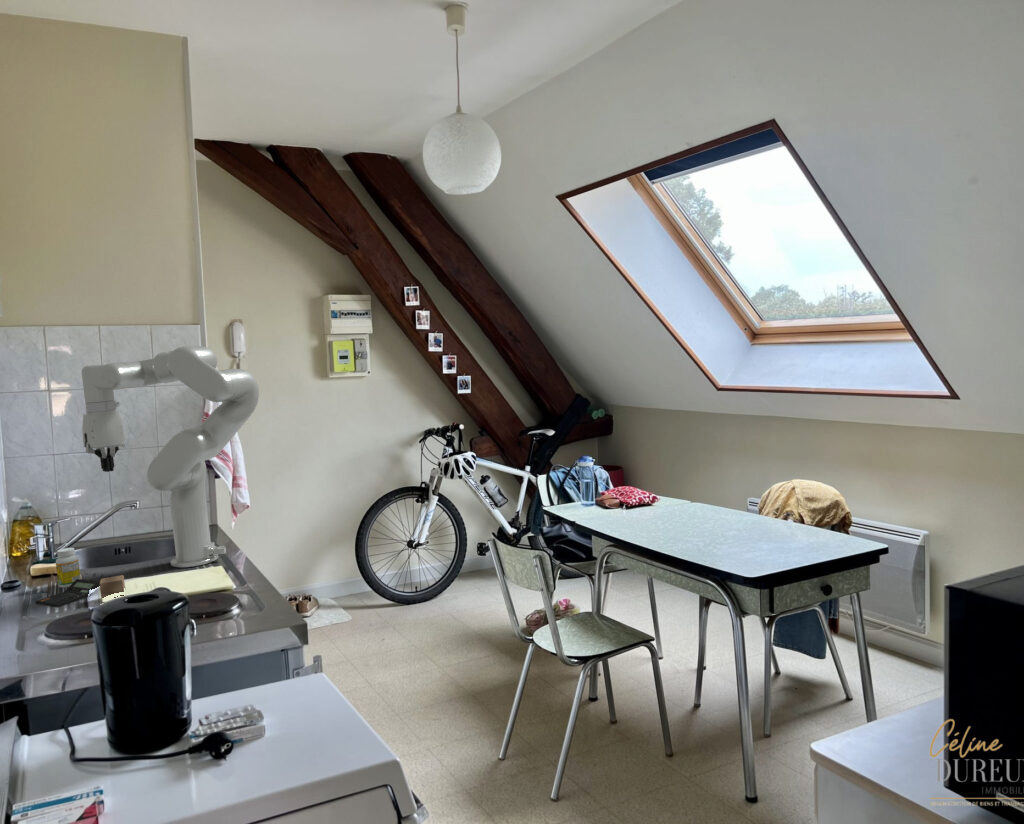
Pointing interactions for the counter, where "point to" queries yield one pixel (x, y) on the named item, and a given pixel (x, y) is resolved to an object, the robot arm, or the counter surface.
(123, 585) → the walnut block
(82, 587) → the calculator
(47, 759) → the counter surface
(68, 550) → the supplement bottle
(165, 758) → the counter surface
